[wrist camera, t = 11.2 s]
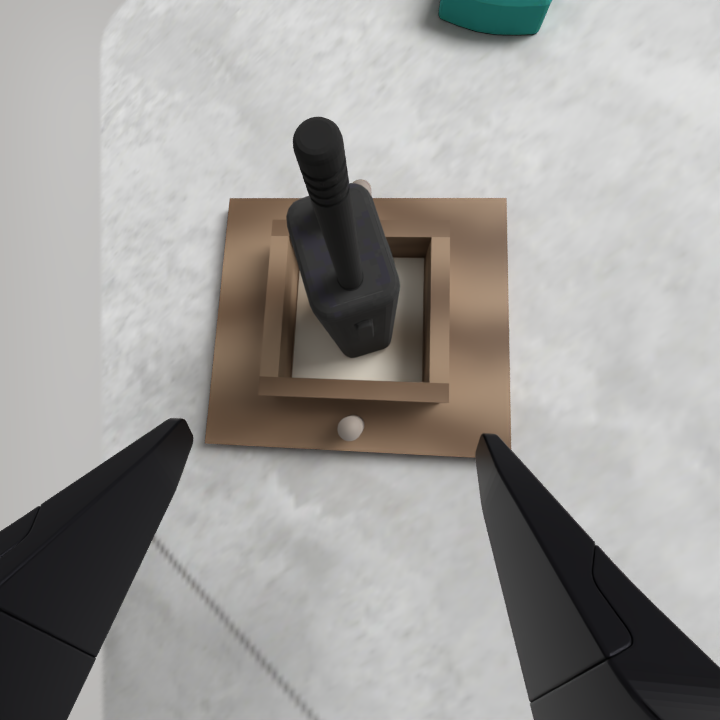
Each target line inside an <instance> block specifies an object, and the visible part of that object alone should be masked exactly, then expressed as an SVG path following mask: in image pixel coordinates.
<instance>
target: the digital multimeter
mask: <svg viewBox="0 0 720 720" xmlns="http://www.w3.org/2000/svg"><path fill="white" fill-rule="evenodd" d="M551 1H552V0H440V6H439V17H440V18H441V19H443V20H445V21H448V22H450V23H453V24H455V25H458V26H461V27H464V28H467V29H471V30H474V31H477V32H483V33H489V34H503V35H525V34H535V33H537V32H538V31H539V29H540V27H541V25H542V22H543V20H544V18H545V15H546V13H547V11H548V8H549V6H550V4H551Z"/></svg>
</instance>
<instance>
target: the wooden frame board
mask: <svg viewBox="0 0 720 720" xmlns="http://www.w3.org/2000/svg"><path fill="white" fill-rule="evenodd" d="M353 183H356V184H360V185H362V186H363V187H365V188H366V189H367V190H368V191H369V193H370V195H371V186H370V184H369V183H368V182H367V181H365V180H356V181H354V182H353ZM299 199H301V198H230V202H229V212H228V221H227V231H226V241H225V251H224V260H223V270H222V280H221V290H220V299H219V309H218V319H217V329H216V338H215V348H214V358H213V368H212V378H211V387H210V397H209V407H208V417H207V426H206V436H205V443H207V444H226V445H245V446H264V447H283V448H302V449H321V450H340V451H359V452H378V453H397V454H416V455H435V456H454V457H473V458H475V452H476V448H477V445H478V442H479V439H480V436H481V434H483V433H492V434H497V435H498V436H499V437H500V438H501V439H502V440H503V441H504V443H505V444H506V445H507V446H508V447H509V448H510V449H511V415H510V362H509V308H508V255H507V201H506V198H373V201H374V204H375V207H376V210H377V213H378V216H379V219H380V222H381V225H382V228H383V231H384V234H385V237H386V240H387V242H388V244H389V247H390V249H391V252H392V256H393V259H394V263H395V267H396V270H397V273H398V276H399V280H400V292H399V298H398V304H397V310H396V316H395V322H394V328H393V334H392V339H391V343H390V344H389V346H388V347H386V348H385V349H382V350H379V351H376V352H372V353H369V354H366V355H363V356H359V357H356V358H350V357H347V356H346V355H344V354H343V352H342V351H341V350H340V348H339V347H338V346H337V344H336V343H335V342H334V340H333V339H332V338H331V336H330V335H329V334H328V332H327V331H326V329H325V328H324V327H323V325H322V324H321V323H320V321H319V320H318V319H317V317H316V316H315V315H314V313H313V311H312V309H311V307H310V305H309V301H308V298H307V294H306V291H305V287H304V284H303V280H302V277H301V273H300V270H299V266H298V263H297V259H296V256H295V252H294V249H293V245H292V242H291V238H290V235H289V232H288V228H287V220H286V215H287V212H288V209H289V207H290V206H291V205H292V203H293V202H295V201H297V200H299Z"/></svg>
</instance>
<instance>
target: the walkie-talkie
mask: <svg viewBox="0 0 720 720" xmlns="http://www.w3.org/2000/svg"><path fill="white" fill-rule="evenodd" d="M293 148H294V153H295V155H296V158H297V161H298V164H299V166H300V170H301V173H302V175H303V179H304V182H305V184H306V188H307V191H308V193H309V196H307V197H304V198H301V199H299V200H297V201H295V202H293V203H292V205H291V206H290V207H289V209H288V212H287V215H286V220H287V228H288V232H289V235H290V238H291V242H292V245H293V249H294V252H295V256H296V259H297V263H298V266H299V270H300V273H301V277H302V280H303V284H304V287H305V291H306V294H307V298H308V301H309V305H310V307H311V309H312V311H313V313H314V315H315V316H316V317H317V319H318V320H319V321H320V323H321V324H322V325H323V327H324V328H325V329H326V331H327V332H328V334H329V335H330V336H331V338H332V339H333V340H334V342H335V343H336V344H337V346H338V347H339V348H340V350H341V351H342V352H343V354H344V355H346V356H347V357H350V358H356V357H359V356H363V355H366V354H369V353H372V352H376V351H379V350H382V349H385V348H386V347H388V346H389V344H390V343H391V339H392V334H393V328H394V322H395V316H396V310H397V304H398V298H399V292H400V280H399V276H398V273H397V270H396V267H395V263H394V259H393V256H392V252H391V249H390V247H389V244H388V242H387V240H386V237H385V234H384V231H383V228H382V225H381V222H380V219H379V216H378V213H377V210H376V207H375V204H374V201H373V198H372V196H371V195H370V193H369V191H368V190H367V189H366V188H365V187H363V186H362V185H360V184H356V183H350V184H349V178H348V171H347V166H346V157H345V150H344V143H343V138H342V134H341V132H340V130H339V128H338V126H337V125H336V124H335V123H334V122H333V121H331V120H329V119H326V118H323V117H313V118H309V119H307V120H305V121H304V122H303V123H301V124H300V125H299V127H298V128H297V129H296V131H295V133H294V137H293Z"/></svg>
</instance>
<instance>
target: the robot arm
mask: <svg viewBox="0 0 720 720" xmlns="http://www.w3.org/2000/svg"><path fill="white" fill-rule="evenodd" d="M192 444H193V435H192V432H191V430H190V428H189V426H188V424H187V422H186V421H185V420H184V419H182V418H170V419H168V420H166V421H165V422H163V423H162V424H160V425H159V426H157V427H156V428H154V429H153V430H151V431H150V432H148V433H147V434H145V435H144V436H142V437H141V438H139V439H138V440H136V441H135V442H133V443H132V444H130V445H129V446H127V447H126V448H125V449H123V450H122V451H120V452H119V453H117V454H116V455H114V456H113V457H111V458H110V459H108V460H107V461H105V462H104V463H102V464H101V465H99V466H98V467H96V468H95V469H93V470H92V471H90V472H89V473H87V474H86V475H84V476H83V477H81V478H80V479H78V480H77V481H76V482H74V483H72V484H71V485H69V486H68V487H66V488H65V489H63V490H62V491H60V492H59V493H57V494H56V495H54V496H53V497H51V498H50V499H48V500H47V501H45V502H44V503H43V504H41V506H38V507H36V508H35V509H33V510H32V511H30V512H29V513H27V514H26V515H24V516H23V517H22V518H20V519H18V520H17V521H15V522H14V523H12V524H11V525H9V526H8V527H6V528H5V529H3V530H1V531H0V720H67V718H68V716H69V714H70V712H71V710H72V708H73V706H74V704H75V702H76V700H77V697H78V695H79V693H80V691H81V689H82V687H83V685H84V683H85V681H86V679H87V676H88V674H89V672H90V670H91V668H92V666H93V664H94V662H95V659H96V658H95V657H97V655H98V653H99V651H100V649H101V647H102V644H103V642H104V640H105V638H106V636H107V634H108V632H109V630H110V628H111V626H112V623H113V621H114V619H115V617H116V615H117V613H118V611H119V609H120V607H121V605H122V602H123V600H124V598H125V596H126V594H127V592H128V590H129V588H130V586H131V584H132V581H133V579H134V577H135V575H136V573H137V571H138V569H139V567H140V565H141V563H142V560H143V558H144V556H145V554H146V552H147V550H148V548H149V546H150V544H151V541H152V539H153V537H154V535H155V533H156V531H157V529H158V527H159V525H160V523H161V520H162V518H163V516H164V514H165V512H166V510H167V508H168V506H169V504H170V502H171V499H172V497H173V495H174V493H175V491H176V488H177V486H178V483H179V481H180V478H181V475H182V472H183V469H184V467H185V464H186V461H187V458H188V455H189V453H190V450H191V447H192ZM475 459H476V467H477V474H478V482H479V490H480V498H481V505H482V510H483V515H484V519H485V523H486V527H487V532H488V536H489V540H490V544H491V548H492V552H493V556H494V560H495V564H496V568H497V572H498V576H499V580H500V584H501V588H502V592H503V596H504V600H505V604H506V608H507V612H508V616H509V621H510V625H511V629H512V633H513V637H514V641H515V645H516V649H517V653H518V657H519V661H520V665H521V669H522V673H523V677H524V681H525V685H526V689H527V693H528V697H529V701H530V702H531V703H530V706H531V710H532V714H533V718H534V720H720V667H719V666H718V665H717V664H716V663H714V662H713V661H712V660H711V659H710V658H709V657H708V656H707V655H706V654H705V653H704V652H703V651H702V650H701V649H700V648H699V647H698V646H697V645H696V644H695V643H694V642H693V641H692V640H691V639H690V638H689V637H687V636H686V635H685V634H684V633H683V632H682V631H681V630H680V629H679V628H678V627H677V626H676V625H675V624H674V623H673V622H672V621H671V620H670V619H669V618H668V617H667V616H666V615H665V614H664V613H663V612H662V611H660V610H659V609H658V608H657V607H656V606H655V605H654V604H653V603H652V602H651V601H650V600H649V599H648V598H647V597H646V596H645V595H644V594H643V593H642V592H641V591H640V590H639V589H638V588H637V587H636V586H635V585H634V584H633V583H632V582H631V581H630V580H629V579H628V577H627V576H626V575H625V574H624V573H623V572H622V571H621V570H620V569H619V568H618V567H617V566H616V565H615V564H614V563H613V562H612V560H611V559H610V558H609V557H608V556H607V555H606V554H605V553H604V552H603V551H602V549H601V548H600V547H599V546H598V545H595V542H594V541H593V540H592V539H591V537H590V536H589V535H588V534H587V533H586V532H585V531H584V530H583V529H582V528H581V526H580V525H579V524H578V523H577V522H576V521H575V520H574V519H573V518H572V517H571V515H570V514H569V513H568V512H567V511H566V510H565V509H564V508H563V507H562V505H561V504H560V503H559V502H558V501H557V500H556V499H555V498H554V497H553V496H552V494H551V493H550V492H549V491H548V490H547V489H546V488H545V487H544V486H543V485H542V483H541V482H540V481H539V480H538V479H537V478H536V477H535V476H534V475H533V473H532V472H531V471H530V470H529V469H528V468H527V467H526V466H525V465H524V464H523V462H522V461H521V460H520V459H519V458H518V457H517V456H516V455H515V454H514V452H513V451H512V450H511V449H510V448H509V447H508V446H507V445H506V444H505V443H504V441H503V440H502V439H501V438H500V437H499V436H498V435H497V434H492V433H483V434H481V436H480V439H479V442H478V445H477V448H476V452H475Z"/></svg>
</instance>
